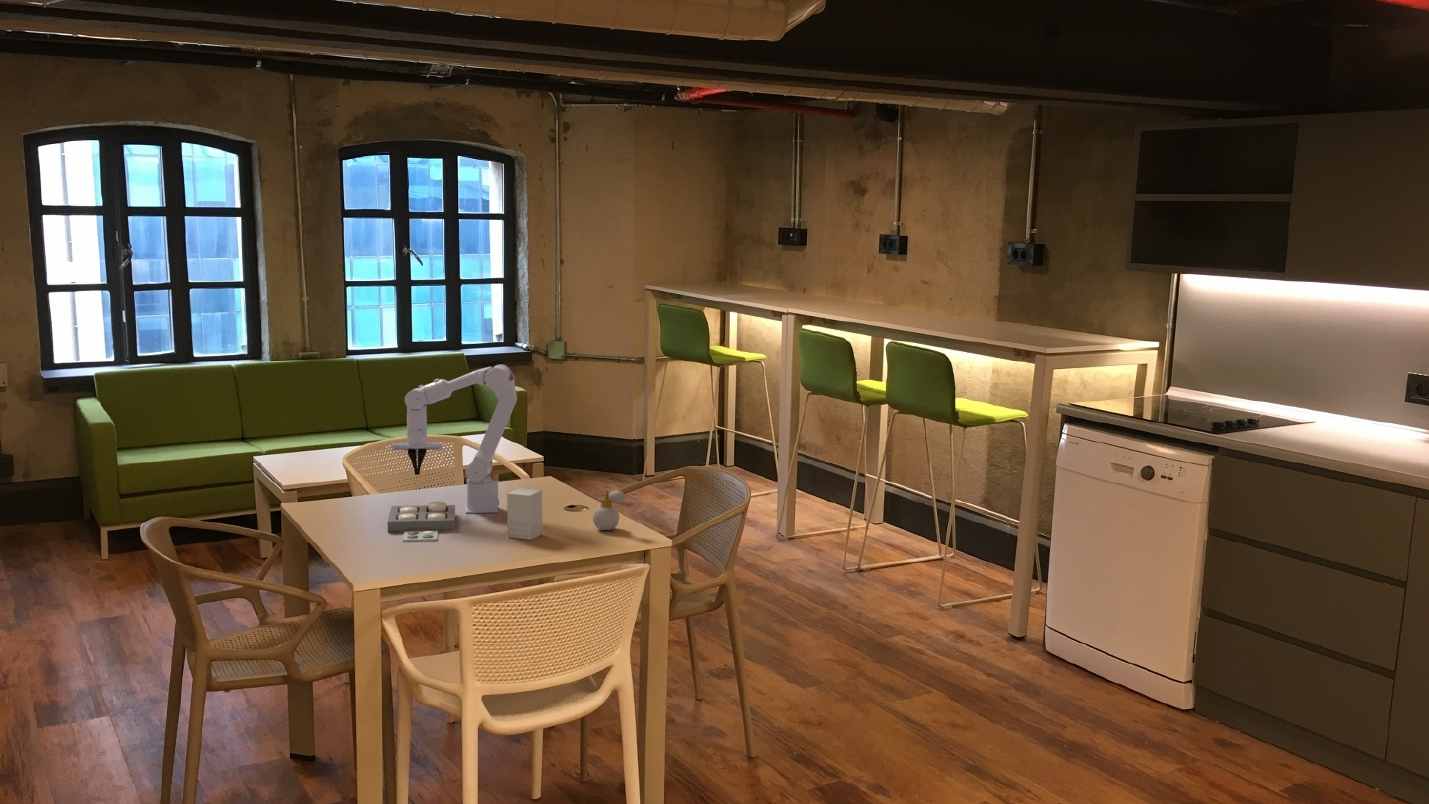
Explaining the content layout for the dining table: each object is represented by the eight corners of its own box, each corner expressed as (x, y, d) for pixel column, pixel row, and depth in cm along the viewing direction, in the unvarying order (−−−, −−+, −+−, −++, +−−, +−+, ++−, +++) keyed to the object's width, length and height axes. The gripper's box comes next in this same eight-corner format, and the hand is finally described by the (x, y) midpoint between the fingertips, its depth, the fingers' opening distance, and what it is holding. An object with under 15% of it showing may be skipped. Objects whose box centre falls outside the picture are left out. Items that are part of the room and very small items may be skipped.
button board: (455, 514, 344) (455, 504, 344) (454, 530, 327) (454, 520, 327) (391, 516, 341) (391, 506, 340) (387, 532, 323) (387, 521, 323)
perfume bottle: (597, 525, 338) (598, 484, 336) (630, 528, 336) (630, 487, 334) (588, 531, 331) (589, 490, 329) (621, 534, 328) (622, 493, 327)
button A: (416, 522, 332) (416, 513, 332) (415, 526, 327) (415, 517, 327) (398, 522, 331) (398, 513, 330) (397, 527, 326) (397, 518, 326)
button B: (445, 521, 334) (445, 512, 333) (445, 526, 329) (445, 517, 329) (428, 522, 333) (428, 513, 332) (427, 526, 328) (427, 517, 328)
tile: (437, 532, 325) (437, 529, 325) (437, 540, 316) (437, 538, 316) (404, 532, 323) (404, 530, 323) (402, 541, 315) (402, 539, 314)
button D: (445, 510, 341) (445, 501, 341) (445, 514, 336) (445, 505, 336) (428, 510, 340) (428, 502, 340) (428, 514, 335) (428, 506, 335)
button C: (417, 515, 340) (417, 506, 339) (416, 519, 335) (416, 510, 335) (400, 515, 339) (400, 507, 338) (399, 520, 334) (399, 511, 334)
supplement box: (543, 534, 327) (543, 489, 325) (530, 540, 320) (530, 495, 318) (519, 531, 329) (519, 487, 327) (506, 537, 322) (506, 492, 320)
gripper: (390, 431, 342) (391, 477, 344) (441, 431, 345) (442, 476, 347) (392, 427, 349) (392, 472, 351) (442, 427, 352) (442, 471, 354)
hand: (417, 474), depth 349 cm, fingers closed
